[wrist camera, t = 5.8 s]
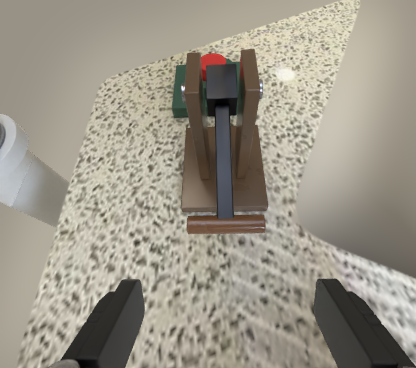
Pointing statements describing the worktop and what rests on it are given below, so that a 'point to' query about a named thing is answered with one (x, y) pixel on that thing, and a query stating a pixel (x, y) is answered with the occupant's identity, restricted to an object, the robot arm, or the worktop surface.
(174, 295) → the worktop surface
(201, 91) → the bracket
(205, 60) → the button
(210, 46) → the worktop surface
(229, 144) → the lever
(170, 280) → the worktop surface
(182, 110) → the button box
